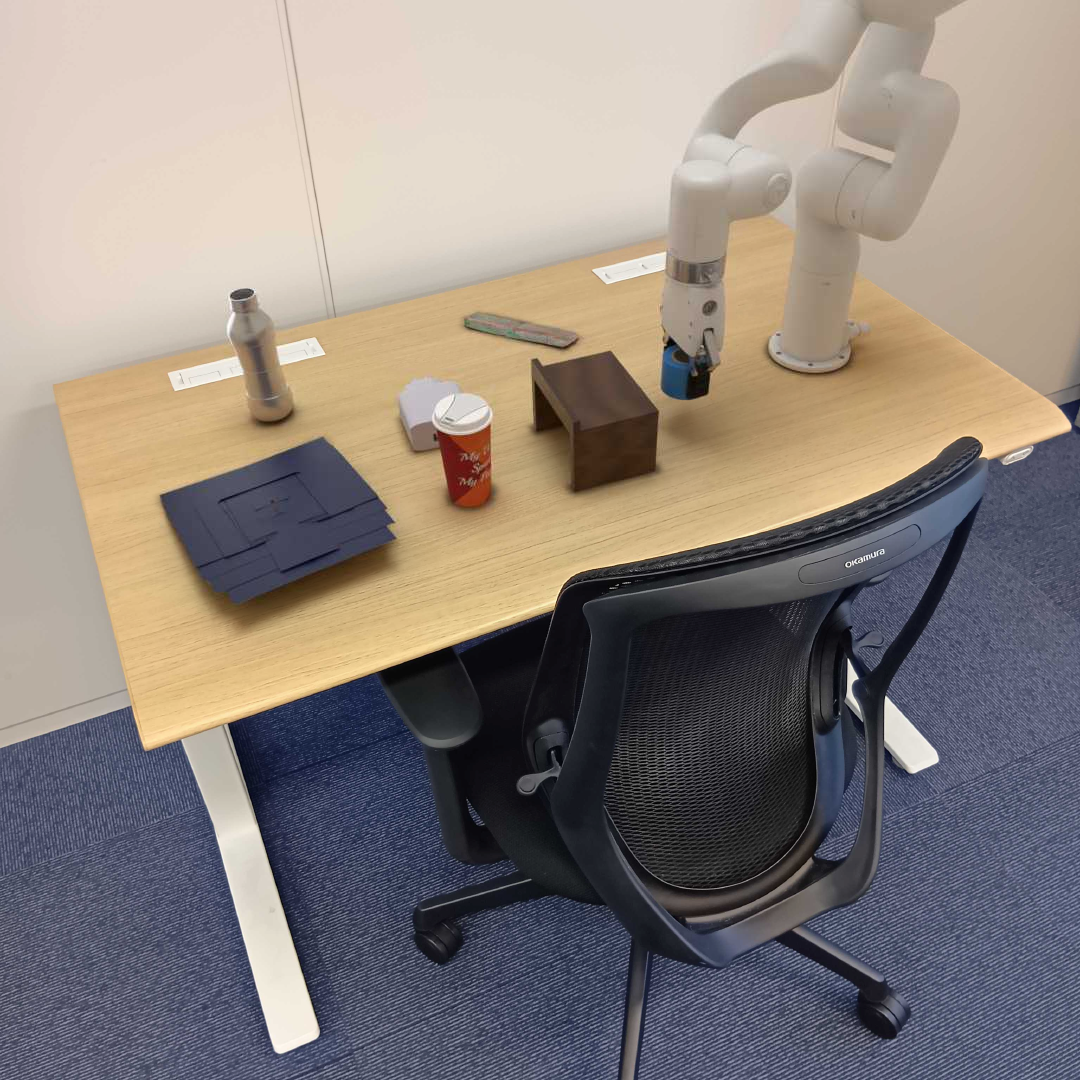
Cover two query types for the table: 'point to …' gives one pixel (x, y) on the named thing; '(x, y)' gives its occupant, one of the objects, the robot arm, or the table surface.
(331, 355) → the table surface
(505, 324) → the map
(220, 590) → the navy flat layered slab
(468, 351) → the table surface
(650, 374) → the table surface
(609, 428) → the desk shelf
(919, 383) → the table surface
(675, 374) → the tape roll
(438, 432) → the paper cup
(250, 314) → the silver metal bottle
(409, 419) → the charger
